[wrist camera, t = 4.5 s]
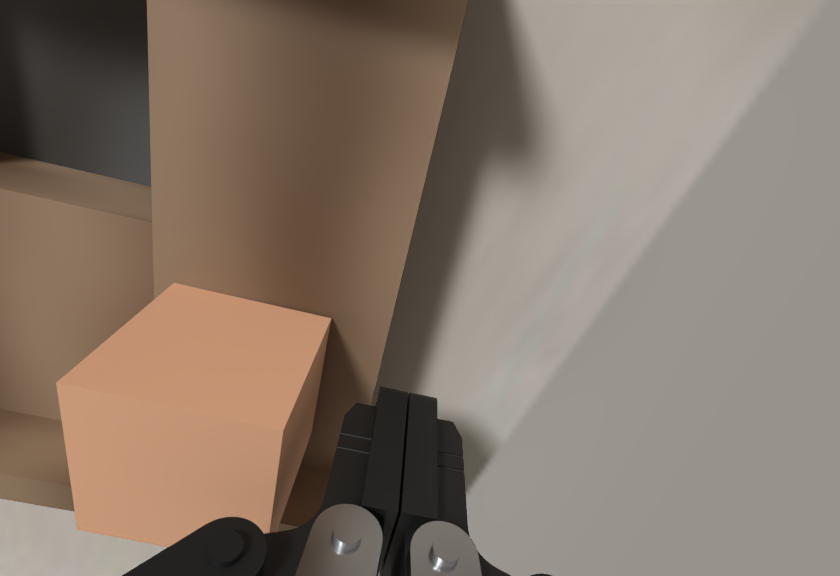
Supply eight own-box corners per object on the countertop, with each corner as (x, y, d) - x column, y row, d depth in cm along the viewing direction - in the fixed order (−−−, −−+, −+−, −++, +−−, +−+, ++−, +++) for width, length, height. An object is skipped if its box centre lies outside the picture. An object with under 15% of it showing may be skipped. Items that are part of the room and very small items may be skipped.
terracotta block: (174, 404, 14) (77, 529, 10) (174, 282, 12) (55, 382, 8) (311, 432, 14) (264, 565, 10) (331, 318, 12) (283, 430, 8)
